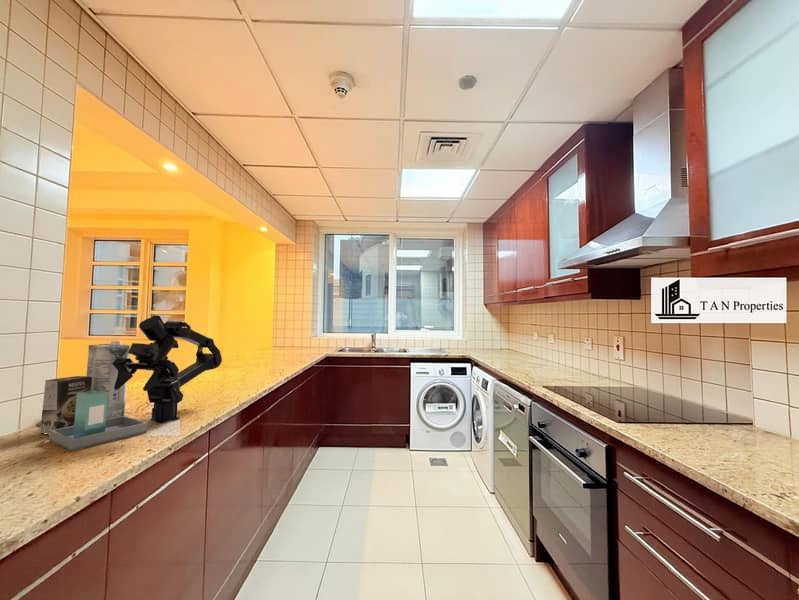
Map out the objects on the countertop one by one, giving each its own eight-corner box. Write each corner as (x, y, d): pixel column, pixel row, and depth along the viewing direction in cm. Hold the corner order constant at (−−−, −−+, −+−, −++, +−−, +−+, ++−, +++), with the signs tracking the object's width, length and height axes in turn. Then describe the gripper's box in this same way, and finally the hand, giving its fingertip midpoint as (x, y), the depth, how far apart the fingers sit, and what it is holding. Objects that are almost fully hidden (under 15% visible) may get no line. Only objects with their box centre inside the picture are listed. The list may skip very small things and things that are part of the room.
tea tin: (94, 434, 102) (97, 390, 103) (104, 437, 100) (108, 391, 101) (73, 439, 97) (76, 393, 98) (83, 442, 96) (87, 395, 96)
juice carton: (99, 425, 112) (105, 342, 113) (78, 421, 115) (84, 340, 116) (128, 418, 120) (134, 340, 121) (108, 415, 123) (113, 339, 125)
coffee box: (55, 436, 101) (60, 381, 102) (39, 434, 102) (43, 379, 103) (89, 427, 110) (93, 376, 111) (73, 425, 111) (77, 375, 112)
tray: (123, 424, 113) (124, 415, 113) (146, 432, 107) (147, 422, 107) (49, 441, 97) (49, 430, 97) (70, 451, 91) (71, 440, 91)
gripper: (119, 332, 111) (83, 372, 100) (175, 334, 110) (145, 375, 99) (137, 354, 119) (106, 394, 107) (189, 356, 118) (163, 396, 106)
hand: (129, 389), depth 105 cm, fingers open, 9 cm apart
